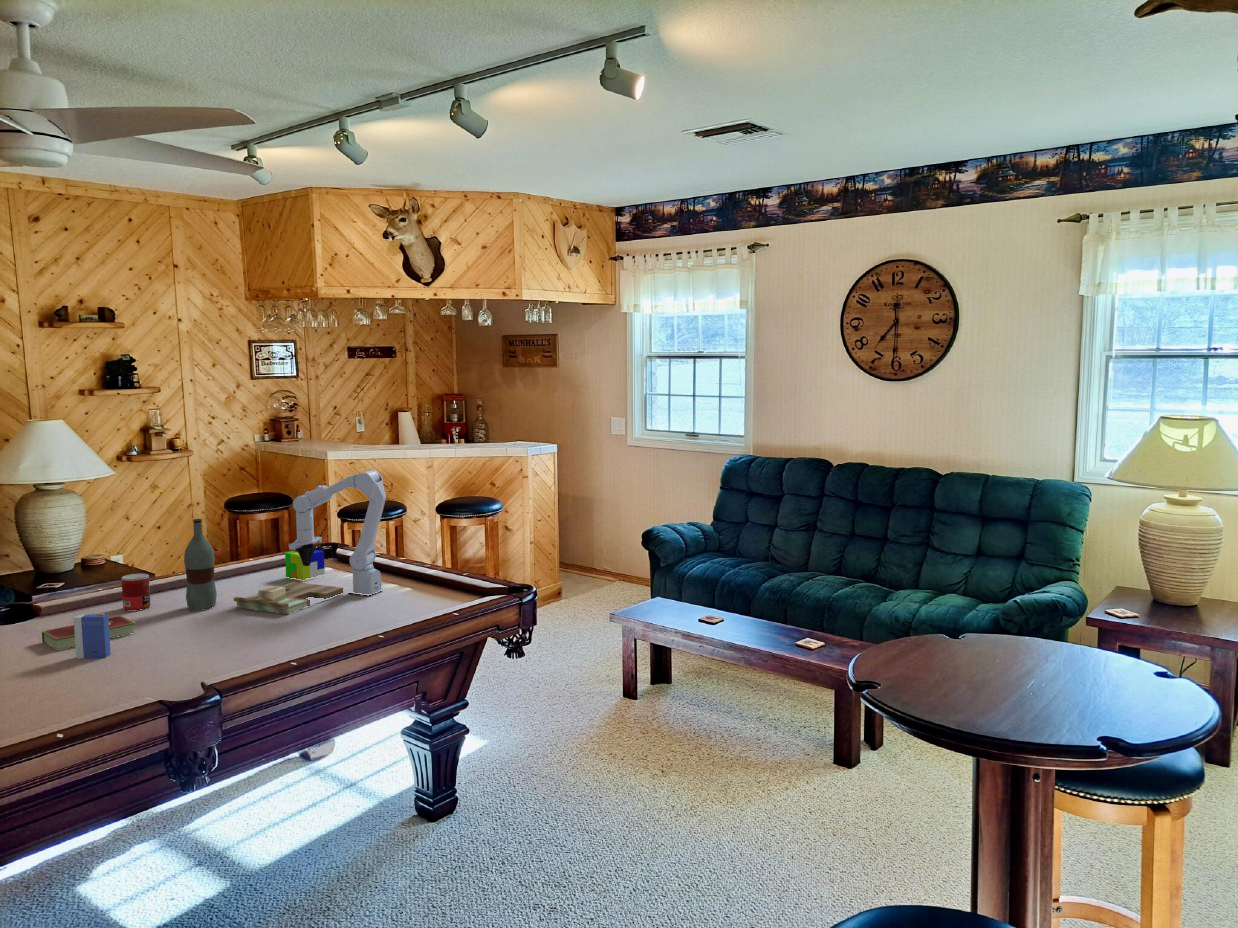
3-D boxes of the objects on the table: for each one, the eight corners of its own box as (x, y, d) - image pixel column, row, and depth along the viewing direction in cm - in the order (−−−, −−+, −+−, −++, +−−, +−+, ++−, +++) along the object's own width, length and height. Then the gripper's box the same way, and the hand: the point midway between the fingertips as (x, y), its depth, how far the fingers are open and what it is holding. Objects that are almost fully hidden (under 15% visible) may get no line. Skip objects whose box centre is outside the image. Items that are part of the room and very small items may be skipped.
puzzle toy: (324, 576, 328) (323, 551, 327) (302, 581, 320) (302, 555, 319) (307, 573, 333) (307, 548, 332) (286, 578, 325) (285, 552, 324)
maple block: (285, 599, 286) (285, 587, 286) (272, 603, 281) (272, 591, 280) (271, 597, 289) (271, 585, 288) (258, 601, 283) (258, 590, 283)
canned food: (148, 610, 281) (147, 577, 280) (121, 612, 278) (119, 579, 277) (152, 604, 288) (150, 572, 287) (125, 606, 286) (123, 574, 284)
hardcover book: (42, 644, 248) (41, 630, 248) (120, 627, 264) (119, 614, 264) (56, 652, 240) (55, 638, 240) (136, 635, 256) (135, 621, 256)
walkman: (110, 654, 238) (108, 612, 237) (105, 657, 235) (103, 615, 234) (81, 655, 237) (78, 613, 236) (75, 658, 235) (73, 616, 233)
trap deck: (343, 594, 302) (342, 584, 301) (286, 615, 276) (285, 604, 276) (294, 588, 310) (293, 578, 309) (234, 608, 284) (233, 597, 283)
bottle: (222, 603, 289) (218, 517, 286) (207, 611, 280) (202, 522, 277) (196, 603, 290) (192, 516, 287) (180, 610, 281) (175, 521, 278)
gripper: (310, 524, 312) (311, 560, 313) (281, 531, 298) (283, 568, 300) (325, 525, 309) (327, 562, 311) (297, 532, 296) (299, 570, 297)
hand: (306, 565), depth 305 cm, fingers closed
